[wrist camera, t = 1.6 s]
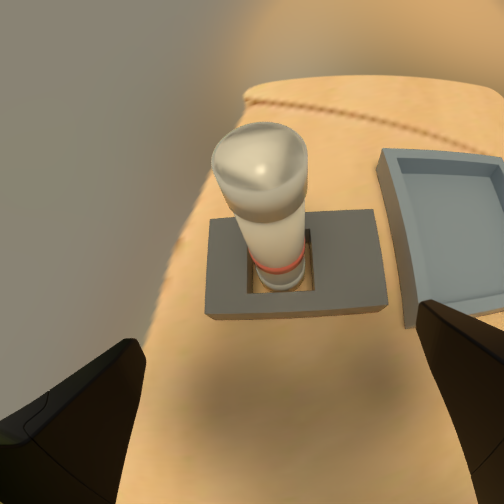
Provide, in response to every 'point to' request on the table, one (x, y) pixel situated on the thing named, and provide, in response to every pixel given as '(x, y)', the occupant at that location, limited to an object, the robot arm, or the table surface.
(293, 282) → the cup
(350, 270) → the block
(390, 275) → the table surface
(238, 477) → the table surface
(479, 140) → the table surface
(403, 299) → the tray
